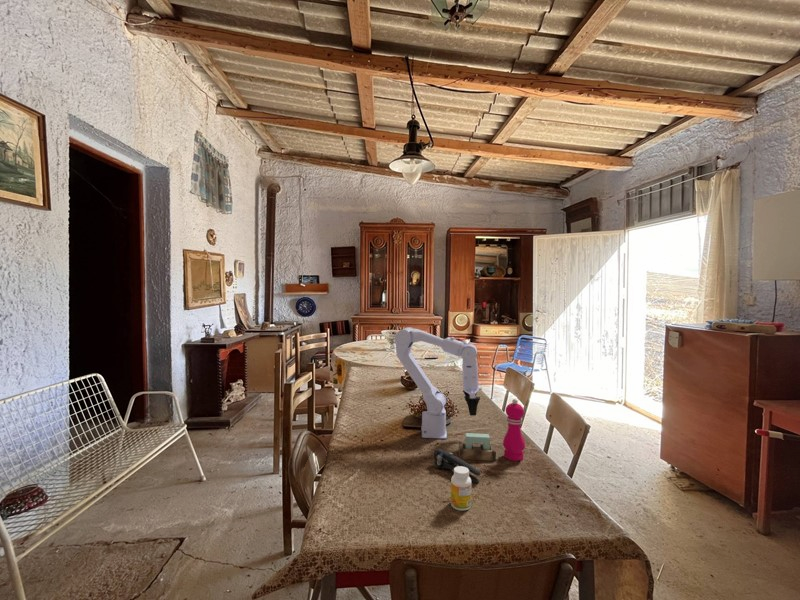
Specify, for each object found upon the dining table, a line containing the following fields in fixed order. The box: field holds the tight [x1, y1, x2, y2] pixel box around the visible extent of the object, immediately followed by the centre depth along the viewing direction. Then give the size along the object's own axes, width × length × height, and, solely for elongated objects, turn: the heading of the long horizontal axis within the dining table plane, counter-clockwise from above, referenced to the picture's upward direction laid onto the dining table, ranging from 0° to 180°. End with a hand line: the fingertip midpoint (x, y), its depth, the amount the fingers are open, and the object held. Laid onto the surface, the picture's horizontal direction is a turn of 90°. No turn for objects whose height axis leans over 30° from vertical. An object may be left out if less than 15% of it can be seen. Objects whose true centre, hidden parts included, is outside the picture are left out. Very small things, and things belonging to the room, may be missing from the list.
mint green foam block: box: [464, 432, 491, 450], centre depth 129 cm, size 8×3×7 cm, turn 84°
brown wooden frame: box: [458, 441, 497, 462], centre depth 129 cm, size 12×6×3 cm, turn 84°
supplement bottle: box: [450, 465, 472, 512], centre depth 100 cm, size 5×5×10 cm
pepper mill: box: [502, 398, 526, 462], centre depth 128 cm, size 7×7×20 cm
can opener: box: [433, 448, 481, 484], centre depth 117 cm, size 18×7×6 cm, turn 40°
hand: (472, 411), depth 142 cm, fingers open, 7 cm apart
